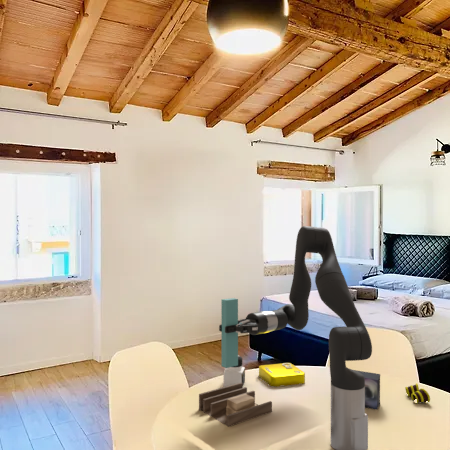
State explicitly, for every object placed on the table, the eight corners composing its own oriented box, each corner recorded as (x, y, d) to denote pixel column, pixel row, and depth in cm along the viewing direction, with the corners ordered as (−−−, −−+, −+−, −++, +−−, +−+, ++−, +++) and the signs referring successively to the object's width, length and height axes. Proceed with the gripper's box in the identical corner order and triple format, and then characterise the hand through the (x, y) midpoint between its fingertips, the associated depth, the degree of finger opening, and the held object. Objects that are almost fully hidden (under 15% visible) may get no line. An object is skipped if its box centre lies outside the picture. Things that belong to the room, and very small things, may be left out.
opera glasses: (405, 397, 162) (402, 383, 162) (419, 394, 161) (416, 380, 162) (416, 407, 152) (413, 393, 152) (431, 404, 152) (428, 390, 152)
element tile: (257, 375, 182) (257, 364, 182) (290, 372, 187) (290, 361, 187) (271, 388, 168) (271, 376, 168) (306, 384, 173) (306, 372, 173)
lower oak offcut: (257, 412, 141) (257, 405, 141) (236, 420, 136) (236, 412, 136) (247, 407, 145) (247, 400, 145) (226, 414, 140) (226, 406, 140)
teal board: (238, 365, 146) (237, 298, 146) (226, 368, 143) (226, 300, 143) (233, 363, 148) (233, 298, 148) (221, 366, 145) (221, 299, 145)
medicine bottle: (242, 392, 163) (242, 359, 163) (223, 390, 165) (223, 358, 165) (245, 385, 170) (245, 354, 170) (226, 383, 172) (227, 353, 172)
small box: (345, 404, 152) (345, 374, 152) (349, 398, 158) (349, 368, 158) (377, 410, 147) (377, 379, 147) (380, 403, 153) (380, 373, 153)
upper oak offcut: (254, 405, 141) (254, 397, 141) (236, 411, 136) (236, 403, 136) (245, 401, 144) (245, 393, 144) (227, 407, 140) (227, 399, 140)
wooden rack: (272, 416, 142) (272, 395, 142) (228, 431, 131) (228, 409, 131) (240, 400, 155) (240, 382, 155) (198, 413, 144) (198, 393, 144)
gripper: (248, 309, 160) (210, 314, 149) (275, 314, 149) (236, 321, 138) (248, 329, 160) (210, 336, 149) (275, 336, 149) (236, 344, 138)
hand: (222, 329), depth 144 cm, fingers closed on teal board, 2 cm apart
